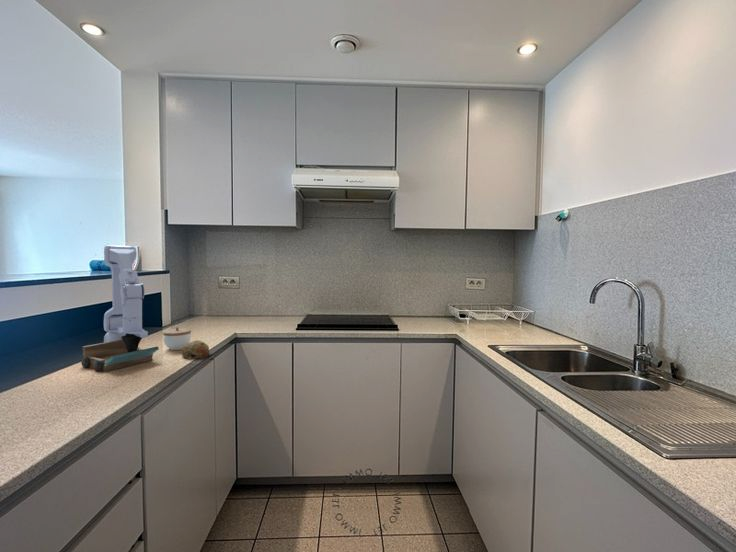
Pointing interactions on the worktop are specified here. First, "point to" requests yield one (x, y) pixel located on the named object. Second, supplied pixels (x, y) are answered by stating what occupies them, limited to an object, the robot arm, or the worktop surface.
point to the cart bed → (108, 356)
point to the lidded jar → (176, 338)
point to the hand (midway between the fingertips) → (132, 354)
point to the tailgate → (131, 355)
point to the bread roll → (195, 350)
